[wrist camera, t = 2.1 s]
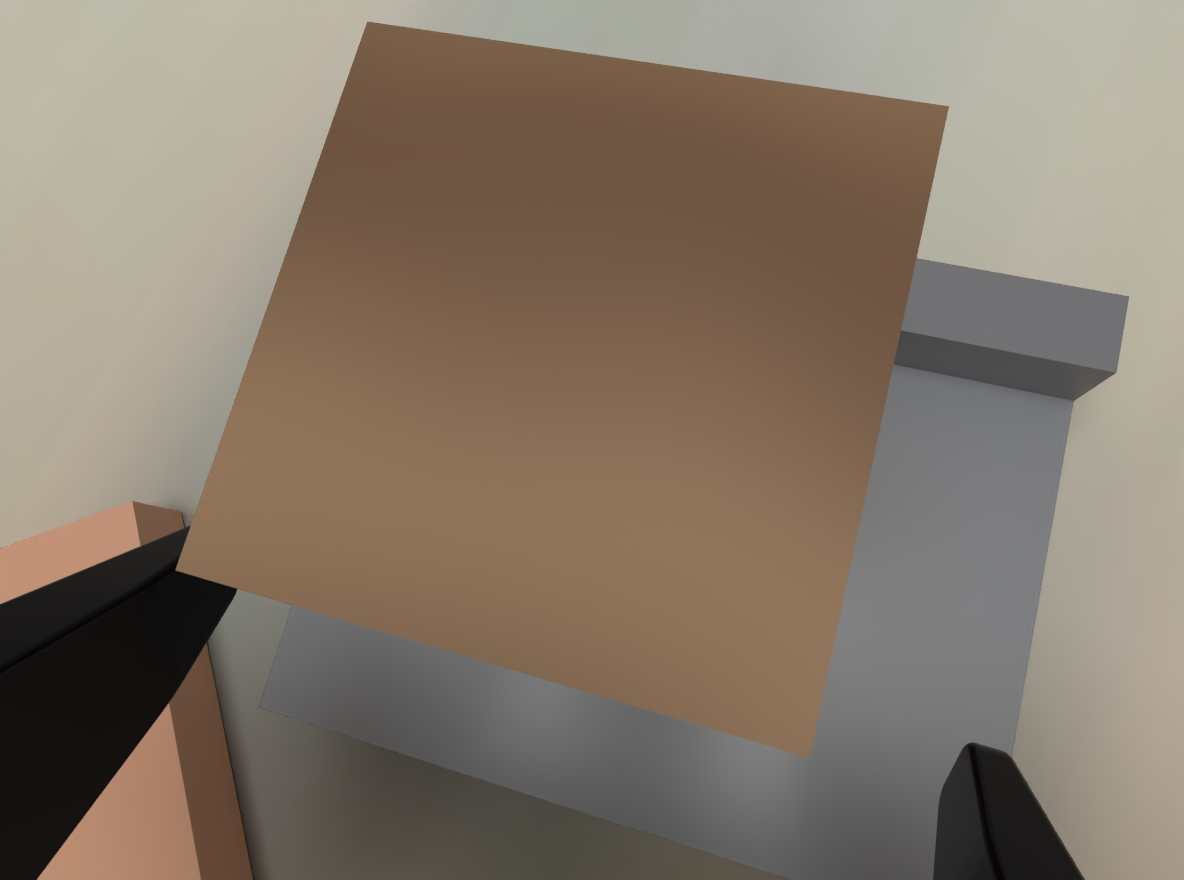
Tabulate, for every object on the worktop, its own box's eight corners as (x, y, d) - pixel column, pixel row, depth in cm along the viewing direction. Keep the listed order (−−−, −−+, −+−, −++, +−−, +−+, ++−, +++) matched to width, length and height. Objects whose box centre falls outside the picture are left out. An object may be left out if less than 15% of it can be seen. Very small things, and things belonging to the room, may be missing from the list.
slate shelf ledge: (940, 893, 19) (1014, 983, 14) (321, 697, 22) (205, 715, 17) (1035, 374, 21) (1129, 296, 16) (458, 258, 24) (390, 163, 19)
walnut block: (752, 675, 17) (809, 757, 6) (519, 609, 18) (174, 570, 7) (806, 439, 18) (947, 107, 7) (581, 388, 19) (367, 21, 8)
